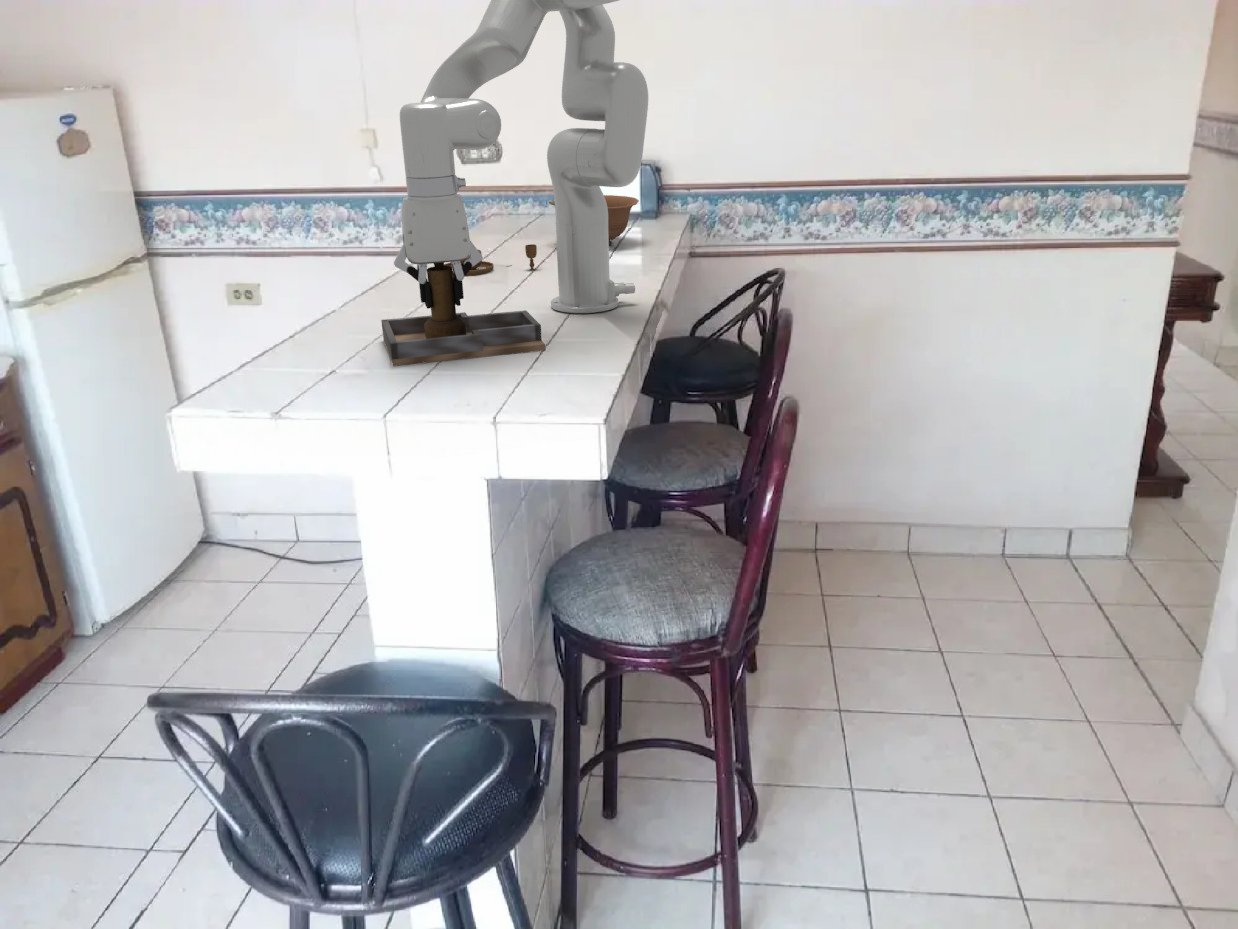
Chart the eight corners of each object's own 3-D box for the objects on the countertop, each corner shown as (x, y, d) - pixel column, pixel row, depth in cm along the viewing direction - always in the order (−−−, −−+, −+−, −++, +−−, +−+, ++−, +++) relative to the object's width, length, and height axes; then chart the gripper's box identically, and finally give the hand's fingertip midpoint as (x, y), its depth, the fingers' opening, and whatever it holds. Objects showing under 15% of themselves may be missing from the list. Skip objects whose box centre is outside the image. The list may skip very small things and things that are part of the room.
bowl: (538, 242, 256) (536, 197, 252) (618, 234, 264) (617, 191, 260) (568, 256, 237) (566, 208, 233) (653, 247, 245) (653, 201, 241)
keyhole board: (524, 326, 176) (522, 307, 175) (545, 350, 162) (544, 328, 160) (383, 340, 170) (381, 319, 168) (393, 365, 155) (390, 343, 154)
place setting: (470, 264, 234) (468, 238, 231) (542, 271, 224) (541, 244, 222) (420, 278, 220) (418, 251, 217) (495, 286, 210) (493, 257, 208)
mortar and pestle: (417, 340, 163) (406, 226, 156) (437, 329, 168) (426, 219, 161) (454, 342, 161) (444, 227, 154) (473, 332, 166) (464, 221, 159)
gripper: (481, 181, 161) (490, 295, 168) (374, 188, 157) (387, 305, 164) (490, 187, 154) (498, 305, 161) (378, 194, 150) (392, 315, 157)
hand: (442, 304), depth 162 cm, fingers closed on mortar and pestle, 4 cm apart
